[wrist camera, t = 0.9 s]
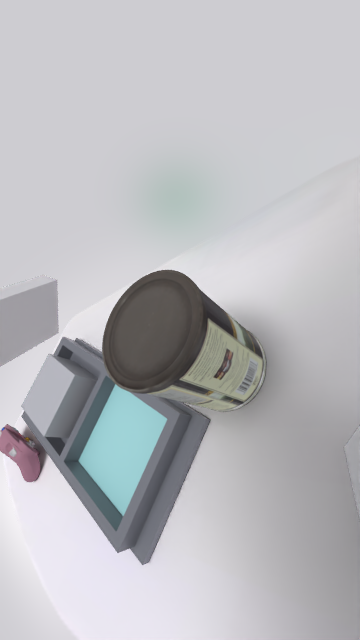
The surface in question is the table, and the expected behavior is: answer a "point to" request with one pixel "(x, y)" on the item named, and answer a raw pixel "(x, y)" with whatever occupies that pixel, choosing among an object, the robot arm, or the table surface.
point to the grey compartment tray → (113, 444)
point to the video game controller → (20, 452)
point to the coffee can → (181, 345)
